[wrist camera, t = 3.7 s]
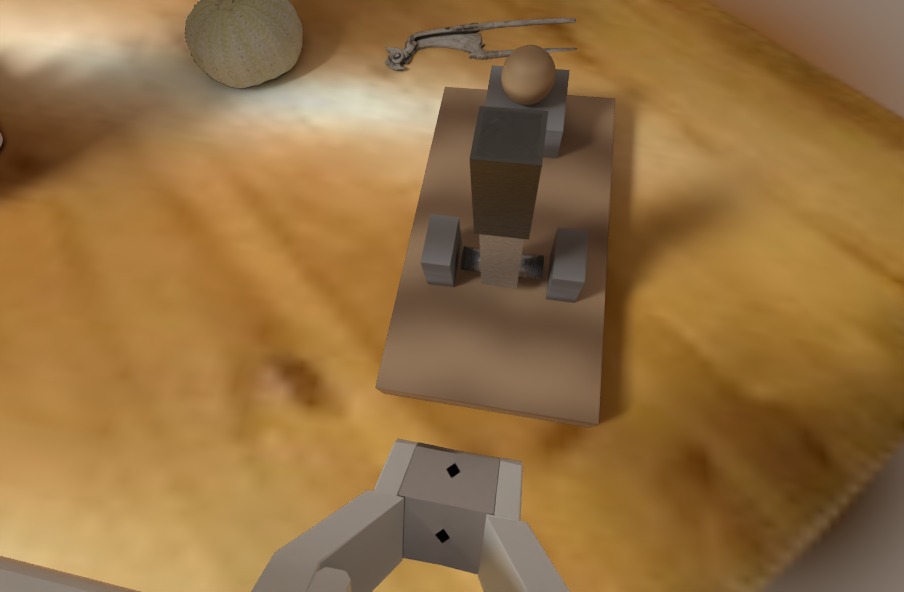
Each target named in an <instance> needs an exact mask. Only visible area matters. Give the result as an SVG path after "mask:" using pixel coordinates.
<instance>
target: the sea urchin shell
mask: <svg viewBox="0 0 904 592" xmlns="http://www.w3.org/2000/svg"><path fill="white" fill-rule="evenodd" d="M302 34H303V26H302V24H301V21H300V19H299V15H298V13H297V12H296V10H295V9H294V6H293V5H292V4H291V2H290V1H288V0H201V1H200V2H197V5H194V9H193V10H192V12H191V13H190V14H189V15H188V18H187V20H186V28H185V35H186V36H185V38H186V42H187V44H188V45H187V46H188V47H189V49H190V51H191V56H192V57H193V58H194V61H195V62H196V63H198V65H199V67H201V68H202V69H203V70H204V71H205V72H206V73H207V74H208V75H209V76H210V77H211V79H214V80H216V81H217V82H220V83H223V84H225V85H227V86H229V87H232V88H234V87H235V88H247V87H250V86H255V85H260V84H262V83H263V82H265V81H267V80H271V79H276V78H277V77H278V76H280V75H282V74H283V73H285V72H288V71H289V70H291V68H292V67H293V66H294V65H295V64H296V62H297V61H298V58H299V55H300V52H301V50H302V42H303V37H302Z"/></svg>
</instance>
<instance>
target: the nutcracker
mask: <svg viewBox="0 0 904 592" xmlns="http://www.w3.org/2000/svg"><path fill="white" fill-rule="evenodd" d="M574 22H576V19H575V18H558V19H538V20H517V21H504V22H488V23H480V24H479V23H472V24H466V25H460V26H457V27H448V28H441V29H434V30H429V31H422V32H418V33H415V34H412V35H411V36H410V37H409V38H408V41H407V42H406V48H405V49H404V50H400V49H398V48H388V47H385V49H386V50H387V51H388V52H390V54H389V55H388V57H389V58H388V59H387V60H386V61H385V63H387V65H388V66H390V67H389V68H392V69H394V70H396V69H397V70H399V69H406V68H405V67H404V66H402V64H404V63H408V62H410V59H411V57H412V56H413V55H414V54H415V52H416V51H417V50H420V49H424V48H434V47H442V48H451V49H457V50H461V51H465V52H469V53H470V55H469V58H475V59H481V60H483V59H492V58H499V57H508V56H509V55H510V54H511V53H512V52H513V51H515V50H507V51H485V50H482V48H483V47H484V43H482V37H481V34H480V33H478V34H476V33H477V32H479V31H483V30H488V29H494V28H501V27H516V26H527V25H540V24H555V23H574ZM544 50H546V51H547V52H558V51H569V50H577V48H544Z"/></svg>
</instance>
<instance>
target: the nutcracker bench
mask: <svg viewBox="0 0 904 592" xmlns="http://www.w3.org/2000/svg"><path fill="white" fill-rule="evenodd" d="M568 78H569V70H558V69H555V65H554V61H553V59H552V57H551V56H550V55H549V53H548V52H547V51H546V50H544V49H543V48H541V47H538V46H534V45H527V46H523V47H520V48H518V49H516V50H515V51H513V52H512V53H511V54H510V55H509V57H508V58H507V60H506V61H505V63H504V66H492V69H491V74H490V80H489V85H488V90H482V89H467V88H453V87H445V89H444V94H443V98H442V102H441V107H440V111H439V115H438V119H437V124H436V128H435V132H434V137H433V141H432V145H431V150H430V154H429V158H428V163H427V167H426V171H425V176H424V180H423V184H422V188H421V193H420V197H419V201H418V206H417V210H416V214H415V219H414V223H413V227H412V232H411V236H410V240H409V245H408V249H407V253H406V257H405V262H404V266H403V270H402V275H401V279H400V283H399V288H398V292H397V296H396V301H395V305H394V309H393V314H392V318H391V322H390V327H389V331H388V335H387V339H386V344H385V348H384V352H383V357H382V361H381V365H380V370H379V374H378V378H377V383H376V387H375V388H377V389H378V390H379V391H381V392H382V393H384V394H390V395H396V396H402V397H409V398H415V399H421V400H427V401H433V402H439V403H445V404H451V405H457V406H463V407H469V408H475V409H481V410H487V411H493V412H499V413H505V414H511V415H517V416H523V417H529V418H535V419H541V420H547V421H553V422H559V423H565V424H571V425H577V426H583V427H589V428H591V427H593V426H596V425H598V424H599V408H600V388H601V368H602V349H603V329H604V309H605V289H606V270H607V250H608V230H609V211H610V191H611V171H612V151H613V132H614V112H615V98H601V97H586V96H572V95H567V87H568ZM479 106H488V107H501V108H515V109H529V110H543V111H548V119H547V128H546V136H545V145H544V153H543V161H542V168H541V174H540V180H539V185H538V191H537V197H536V203H535V208H534V214H533V220H532V225H531V231H530V237H529V240H527V239H524V244H523V250H522V253H528V254H536V255H544V266H543V273H542V278H541V280H538V279H530V278H522V277H518V283H517V289H514V288H506V287H498V286H490V285H482V284H481V272H473V271H465V270H461V257H462V251H463V247H464V246H467V247H476V248H480V242H479V234H474V224H473V208H472V192H471V176H470V160H469V159H470V153H471V148H472V143H473V138H474V133H475V127H476V122H477V117H478V112H479Z"/></svg>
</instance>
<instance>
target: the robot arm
mask: <svg viewBox="0 0 904 592" xmlns="http://www.w3.org/2000/svg"><path fill="white" fill-rule="evenodd" d="M2 142H3V138H2V135H1V133H0V146H1V145H2ZM522 472H523V464H522V461H518V460H512V459H506V458H499V457H493V456H487V455H481V454H476V453H470V452H464V451H457V450H453V449H448V448H443V447H438V446H433V445H429V444H424V443H419V442H418V443H416V442H412V441H407V440H402V439H397V440H396V441H395V443H394V444H393V447H392V449H391V451H390V454H389V456H388V458H387V461H386V463H385V465H384V467H383V470H382V472H381V474H380V477H379V479H378V481H377V484H376V486H375V488H374V490H373V491H369V490H366V491H365V492H363V493H362V494H361V495H359V496H358V497H356V498H355V499H353V500H352V501H350V502H349V503H347V504H346V505H344V506H343V507H341V508H340V509H338V510H337V511H335V512H334V513H332V514H331V515H329V516H328V517H327V518H325V519H324V520H322V521H321V522H319V523H318V524H316V525H315V526H313V527H312V528H310V529H309V530H307V531H306V532H304V533H303V534H301V535H300V536H298V537H297V538H295V539H294V540H293V541H291V542H290V543H288V544H287V545H285V546H284V547H282V548H281V549H279V550H278V551H276V552H275V553H274V555H273V556H272V558H271V560H270V561H269V563H268V565H267V566H266V568H265V570H264V571H263V573H262V575H261V576H260V578H259V580H258V581H257V583H256V585H255V586H254V588H253V590H252V591H251V592H372V591H373V590H374V589H375V588H376V587H377V586H378V585H379V584H380V583H381V582H382V581H383V580H384V579H385V578H386V577H387V576H388V575H389V574H390V573H391V572H392V570H393V569H394V568H395V567H396V566H397V565H398V564H399V563H400V562H401V561H402V558H406V559H411V560H417V561H422V562H427V563H433V564H438V565H440V564H441V565H442V566H446V567H450V568H454V569H458V570H462V571H466V572H470V573H474V574H478V578H479V580H480V583H481V586H482V588H483V591H484V592H570V591H569V589H568V588H567V586H566V584H565V583H564V581H563V580H562V578H561V576H560V575H559V573H558V572H557V570H556V568H555V567H554V565H553V563H552V562H551V560H550V559H549V557H548V555H547V554H546V552H545V551H544V549H543V547H542V546H541V544H540V542H539V541H538V539H537V538H536V536H535V534H534V533H533V531H532V530H531V528H530V526H529V525H528V523H527V522H523V521H520V519H521V495H522ZM0 592H140V591H136V590H132V589H128V588H124V587H120V586H116V585H112V584H109V583H105V582H101V581H97V580H93V579H89V578H85V577H81V576H77V575H73V574H69V573H65V572H62V571H58V570H54V569H50V568H46V567H42V566H38V565H34V564H30V563H26V562H22V561H18V560H15V559H11V558H7V557H3V556H0Z"/></svg>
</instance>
